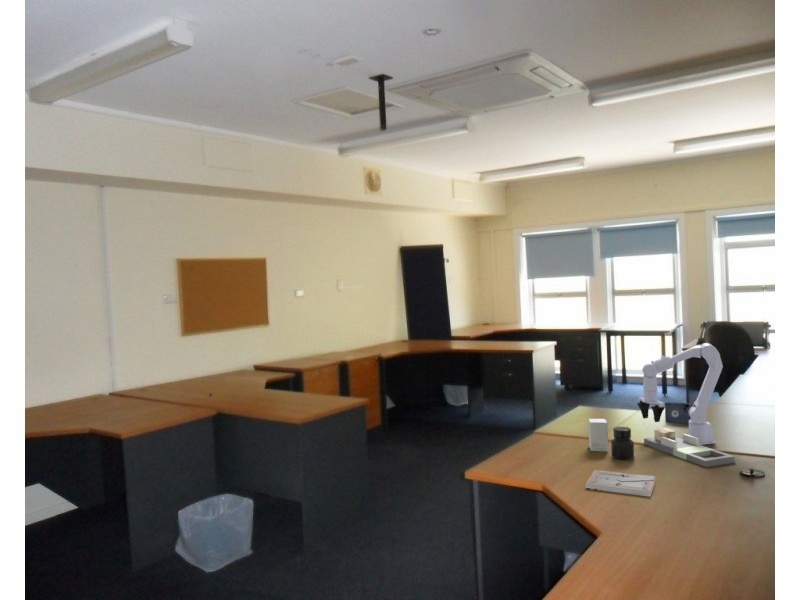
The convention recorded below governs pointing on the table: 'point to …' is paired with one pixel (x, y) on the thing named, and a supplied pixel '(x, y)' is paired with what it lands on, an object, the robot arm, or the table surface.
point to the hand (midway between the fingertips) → (651, 420)
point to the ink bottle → (622, 444)
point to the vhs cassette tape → (677, 412)
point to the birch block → (664, 434)
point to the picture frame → (621, 483)
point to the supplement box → (598, 434)
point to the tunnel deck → (690, 450)
